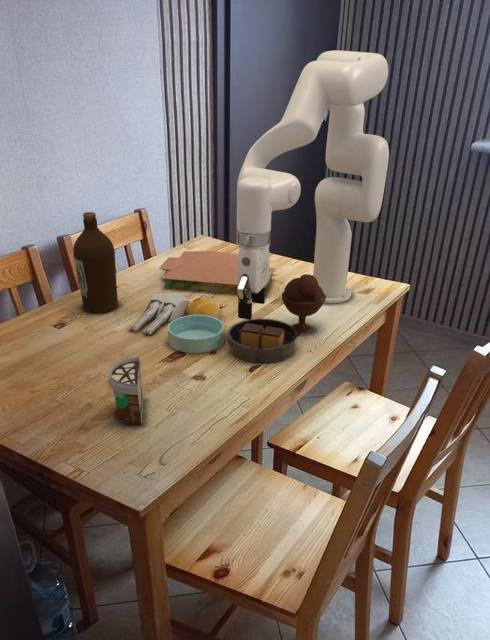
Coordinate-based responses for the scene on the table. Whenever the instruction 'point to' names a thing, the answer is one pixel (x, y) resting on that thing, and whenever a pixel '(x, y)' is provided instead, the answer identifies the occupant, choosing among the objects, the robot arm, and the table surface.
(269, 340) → the snack cake
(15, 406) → the table surface
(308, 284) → the ice cream bowl
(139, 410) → the food container
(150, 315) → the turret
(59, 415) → the table surface
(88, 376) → the table surface
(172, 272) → the house
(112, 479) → the table surface
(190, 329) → the blue bowl
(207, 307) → the bread roll
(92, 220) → the olive oil
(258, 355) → the charcoal bowl
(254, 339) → the snack cake
